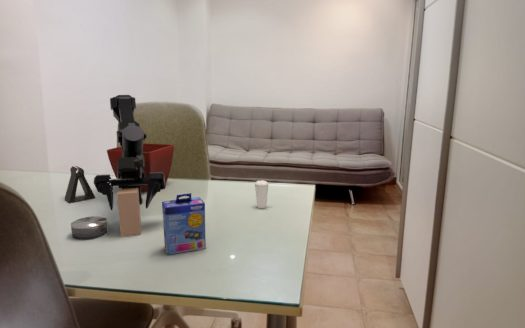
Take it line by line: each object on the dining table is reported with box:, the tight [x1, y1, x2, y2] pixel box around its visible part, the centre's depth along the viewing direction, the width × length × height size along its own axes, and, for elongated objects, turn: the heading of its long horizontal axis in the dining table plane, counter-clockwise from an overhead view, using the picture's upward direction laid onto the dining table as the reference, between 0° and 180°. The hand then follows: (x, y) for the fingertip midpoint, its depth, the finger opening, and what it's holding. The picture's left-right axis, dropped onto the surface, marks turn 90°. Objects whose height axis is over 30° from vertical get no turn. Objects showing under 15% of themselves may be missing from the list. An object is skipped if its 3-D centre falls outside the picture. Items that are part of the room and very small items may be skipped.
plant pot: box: [106, 142, 175, 193], centre depth 152 cm, size 19×19×17 cm
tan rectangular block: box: [116, 188, 142, 237], centre depth 104 cm, size 5×5×12 cm
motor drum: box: [70, 215, 109, 241], centre depth 104 cm, size 9×9×4 cm
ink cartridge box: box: [161, 192, 207, 256], centre depth 93 cm, size 10×6×14 cm, turn 114°
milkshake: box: [254, 179, 271, 209], centre depth 126 cm, size 4×5×10 cm
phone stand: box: [64, 165, 96, 204], centre depth 137 cm, size 9×6×12 cm, turn 131°
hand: (129, 208), depth 103 cm, fingers open, 9 cm apart
